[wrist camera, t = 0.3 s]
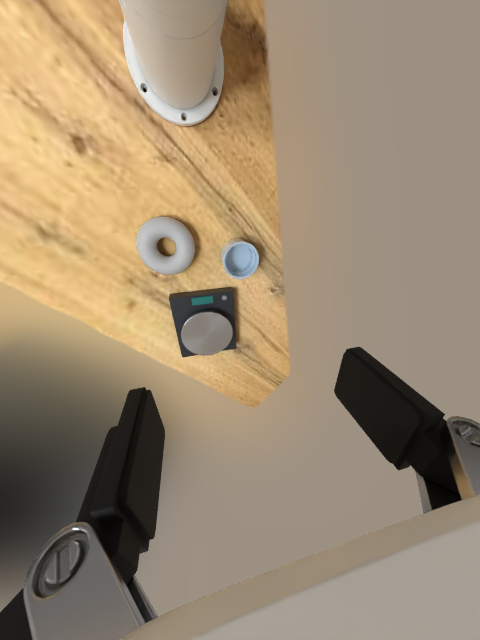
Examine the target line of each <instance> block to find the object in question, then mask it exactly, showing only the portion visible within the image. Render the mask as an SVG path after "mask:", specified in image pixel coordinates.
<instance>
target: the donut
mask: <svg viewBox="0 0 480 640" xmlns="http://www.w3.org/2000/svg"><path fill="white" fill-rule="evenodd" d="M165 237H166V238H170V239H172V240H173V241H174V243H175V244H176V252H175V254H174V255H172V256H169V257H167V256H164V255H162V254H161V253H159V251H158V249H157V243H158V241H159V240H160V239H161V238H165ZM136 248H137V251H138V253H139V256H140V258H141V259H142V261H143V262H144V263H145V265H147V266H148V267H149V268H150V269H152V270H153V271H155V272H158V273H160V274H166V275H173V274H178V273H180V272H182V271H184V270H186V268H187V267H188V266H189V265H190V264H191V262H192V260H193V258H194V255H195V244H194V240H193V237H192V235H191V234H190V232H189V230H188V229H187V228H186V227H185V226H184V225H183V224H182V223H181V222H179V221H177V220H175V219H173V218H170V217H165V216H160V217H153V218H151V219H149V220H148V221H146V222H144V224H143V225H142V226H141V227H140V229H139V231H138V234H137V237H136Z"/></svg>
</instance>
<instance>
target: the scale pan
mask: <svg viewBox="0 0 480 640" xmlns="http://www.w3.org/2000/svg"><path fill="white" fill-rule="evenodd" d="M232 335H233V330H232V326H231V323H230V321H229V320H228V319H227V318H226V317H225V316H224V315H223V314H221V313H219V312H215V311H201V312H198V313H195V314H193V315H192V316H190V317H189V318H188V319H187V320H186V321H185V323H184V324H183V327H182V330H181V339H182V342H183V344H184V346H185V347H186V348H187V349H188V350H189V351H191V352H193V353H195V354H198V355H213V354H216V353H218V352H220V351H222V350H223V349H225V348H226V347H227V346H228V344H229V343H230V341H231V339H232Z"/></svg>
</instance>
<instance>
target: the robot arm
mask: <svg viewBox="0 0 480 640" xmlns="http://www.w3.org/2000/svg"><path fill="white" fill-rule="evenodd" d="M119 3H120V6H121V9H122V12H123V15H124V18H125V19H124V26H123V43H124V50H125V57H126V60H127V64H128V68H129V71H130V73H131V76H132V79H133V81H134V83H135V85H136V87H137V89H138V91H139V93H140V94H141V96H142V97H143V99H144V100H145V102H146V103H147V104H148V105H149V107H150V108H151V109H152V110H153V111H154V112H155V113H156V114H158V115H159V116H160V117H161V118H163V119H164V120H166V121H168V122H170V123H172V124H175V125H179V126H192V125H196V124H198V123H200V122H202V121H203V120H205V119H206V118H207V117H208V116H209V115H210V114H211V113H212V111H213V110H214V108H215V106H216V104H217V103H218V100H219V97H220V94H221V90H222V86H223V80H224V57H223V51H222V46H221V42H220V38H221V33H222V28H223V23H224V18H225V13H226V8H227V3H228V0H119ZM143 89H146V90H147V92H144V91H143ZM213 92H215V93H216V96H214V95H213ZM183 117H185V118H186V120H185V121H184V120H183V119H182V118H183ZM334 391H335V394H336V396H337V398H338V399H339V400H340V401H341V403H342V404H343V405H344V407H345V408H346V409H347V410H348V411H349V413H350V414H351V415H352V417H353V418H354V419H355V420H356V422H357V423H358V424H359V425H360V427H361V428H362V429H363V430H364V432H365V433H366V434H367V436H368V437H369V438H370V439H371V440H372V442H373V443H374V444H375V446H376V447H377V448H378V449H379V451H380V452H381V453H382V454H383V456H384V457H385V458H386V459H387V460H388V461H389V462H390V463H393V464H394V466H395V467H396V468H397V469H398V470H401V469H404V468H407V467H409V466H410V465H411V466H412V467H413V468H414V469H415V471H416V476H417V481H418V487H419V491H420V497H421V502H422V507H423V512H424V514H422V515H419V516H416V517H414V518H411V519H408V520H405V521H403V522H400V523H397V524H394V525H392V526H389V527H386V528H384V529H381V530H378V531H376V532H373V533H370V534H368V535H365V536H362V537H360V538H357V539H354V540H351V541H349V542H346V543H344V544H341V545H338V546H335V547H333V548H330V549H328V550H325V551H322V552H320V553H317V554H314V555H312V556H309V557H306V558H304V559H301V560H298V561H296V562H293V563H291V564H288V565H285V566H283V567H280V568H277V569H275V570H272V571H269V572H267V573H264V574H261V575H259V576H256V577H254V578H251V579H248V580H246V581H243V582H241V583H238V584H235V585H233V586H230V587H228V588H225V589H223V590H220V591H218V592H215V593H213V594H210V595H208V596H205V597H203V598H200V599H198V600H196V601H193V602H191V603H188V604H186V605H183V606H181V607H179V608H176V609H174V610H172V611H170V612H168V613H166V614H163V615H161V616H159V617H158V616H157V614H156V612H155V610H154V608H153V607H152V605H151V603H150V601H149V599H148V597H147V596H146V594H145V592H144V590H143V588H142V586H141V585H140V583H139V581H138V579H137V578H136V576H135V573H136V571H137V568H138V560H139V554H140V553H143V552H146V551H148V547H149V540H150V539H153V538H154V536H155V530H156V520H157V510H158V500H159V490H160V480H161V469H162V460H163V450H164V439H165V430H164V426H163V423H162V420H161V418H160V415H159V412H158V409H157V406H156V404H155V401H154V398H153V395H152V393H151V391H150V390H146V388H145V387H143V388H138V389H133V390H130V391H129V393H128V395H127V398H126V402H125V405H124V408H123V411H122V414H121V417H120V420H119V423H118V426H115V427H112V428H111V429H110V430H109V432H108V434H107V436H106V439H105V442H104V445H103V448H102V450H101V453H100V456H99V459H98V461H97V464H96V467H95V470H94V473H93V476H92V478H91V481H90V484H89V487H88V490H87V492H86V495H85V498H84V501H83V504H82V507H81V510H80V512H79V515H78V518H77V521H76V523H73V524H71V525H69V526H67V527H66V528H63V529H62V530H61V531H59V532H58V533H57V534H55V535H54V536H53V537H52V538H51V539H50V540H49V541H48V542H47V543H46V545H45V546H44V547H43V548H42V549H41V551H40V552H39V554H38V555H37V557H36V558H35V560H34V561H33V563H32V566H31V567H30V569H29V571H28V573H27V577H26V580H25V584H24V588H23V589H22V590H21V591H20V592H19V593H18V594H17V595H16V596H15V598H14V599H13V600H12V601H11V602H10V603H9V604H8V605H7V606H6V607H5V608H4V609H3V610H2V611H1V612H0V640H480V424H479V423H477V422H475V421H473V420H470V419H467V418H464V417H459V416H452V417H450V418H448V419H447V421H445V420H444V419H443V417H444V415H445V414H444V413H443V412H441V411H440V410H439V409H438V408H436V407H435V406H434V405H433V404H431V403H430V402H429V401H427V400H426V399H425V398H424V397H422V396H421V395H420V394H419V393H417V392H416V391H415V390H414V389H412V388H411V387H410V386H409V385H407V384H406V383H405V382H404V381H402V380H401V379H400V378H399V377H397V376H396V375H395V374H394V373H392V372H391V371H390V370H389V369H387V368H386V367H385V366H384V365H382V364H381V363H380V362H379V361H377V360H376V359H375V358H374V357H372V356H371V355H370V354H369V353H367V352H366V351H365V350H363V349H362V348H361V347H355V348H350V349H347V350H346V352H345V353H344V355H343V358H342V362H341V366H340V370H339V374H338V378H337V382H336V385H335V390H334Z"/></svg>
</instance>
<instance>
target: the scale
mask: <svg viewBox="0 0 480 640" xmlns="http://www.w3.org/2000/svg"><path fill="white" fill-rule="evenodd" d="M169 301H170V306H171V310H172V314H173V319H174V323H175V328H176V332H177V336H178V341H179V345H180V350H181V354H182V357H188V356H194V355H198V354H195V353H193V352H191V351H189V350H188V349H187V348H186V347H185V346H184V344H183V342H182V339H181V330H182V327H183V324H184V323H185V321H186V320H187V319H188V318H189V317H190V316H192V315H193V314H195V313H198V312H201V311H215V312H219V313H221V314H223V315H224V316H225V317H226V318H227V319H228V320H229V321H230V323H231V326H232V330H233V335H232V339H231V341H230V343H229V344H228V346H227V347H226V348H225V349H223V350H229V349H235V348H236V332H235V314H234V297H233V290H232V288H231V287H228V288H219V289H211V290H202V291H193V292H185V293H176V294H170V296H169ZM223 350H222V351H223Z"/></svg>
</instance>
